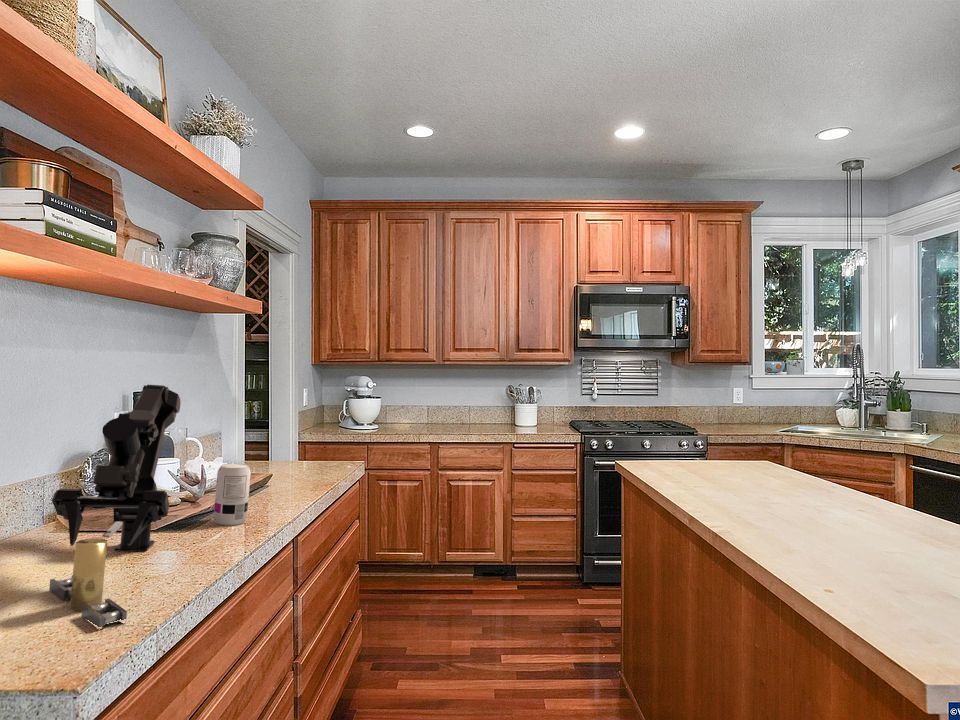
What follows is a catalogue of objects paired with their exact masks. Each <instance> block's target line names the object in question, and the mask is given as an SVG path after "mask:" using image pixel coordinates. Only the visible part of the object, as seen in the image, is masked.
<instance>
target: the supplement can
mask: <svg viewBox="0 0 960 720" xmlns="http://www.w3.org/2000/svg"><path fill="white" fill-rule="evenodd" d="M216 473H217V475H216V488H215V495H214V496H215V497H214V509H213V521H214V522H215V524H217V525H220V526H238V525H241V524H244V523H245V522H246V520H247V519H248V509H249V508H248V506H249V496H250V483H251V474H252V473H251V470H250V466H249V465H248V464H245V463H235V462H234V463H232V462H231V463H222V464H220V466H219V468H218V470H217V472H216Z"/></svg>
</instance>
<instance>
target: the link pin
mask: <svg viewBox="0 0 960 720" xmlns="http://www.w3.org/2000/svg"><path fill="white" fill-rule="evenodd" d="M74 545H75V546H74V547H75V548H74V558H73V566H72V567H73V569H72V575H73V578H72V589H71V598H70V602H69V610H70V611H72V612H76V613H77V612H81V611H82V606H83V604H88V605H89V606H93V605H97V604H101V603H103V592H104V580H105V569H106V558H107V550H108V549H107V547H108V546H107V545H108V540H107V539H106V538H99V537H93V538H85V539H81V540H78V541H77V540H76V541H75V544H74ZM81 613H82V612H81Z"/></svg>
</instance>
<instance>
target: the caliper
mask: <svg viewBox="0 0 960 720" xmlns="http://www.w3.org/2000/svg"><path fill="white" fill-rule="evenodd" d="M120 528H122V522H119V521H117V522H113V523H112V525H111V526H110V527H108V529H107V531H106V532H105V534H104V536H103V537H106V538H109V537H111V536H113V535H115V533H116V532H117V531H118V530H120Z"/></svg>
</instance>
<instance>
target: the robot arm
mask: <svg viewBox="0 0 960 720" xmlns="http://www.w3.org/2000/svg"><path fill="white" fill-rule="evenodd" d="M139 395H140V396H139V398H138V400H137V401H136V403H135V405H134V407H133V409H132V410H131V411H129V412H126V413H119V414H118V417H115V418H112V419H110V420H108V422H106V423H105V424H104V425H103V427H102V431H101V432H102V435H103V439H104V444H105V446H106V447H105V448H106V451H107V453H108V455H110V456H109V461H108V463H107V465H97V466H96V468H95V473H94V477H93V481H92V484H93V485H95V487H94V490H95V491H94V492H95V493H98V494H97V495H94V496H91V495H85V496H84V494H83V491H82V489H81V488H59V489H58V490H56V491H55V492H54V493H53V495H52V499H51V502H52V505H53V507H54V509H55V512H56V514H57V515H58V516H60V517H63V519H64V520H66V521H68V536H69V545H70V546H71V547H72V546H74V545H75V544H76V542H77V539H78V536H79V532H80V529H81V526H82V525H81V524H82V522H83V513H84V511H85V508H109V509H110V508H112V510H113V523H115V522H117V521H119V522H122V526H121V536H120V543H119V544H118V545H117V546H115V547H114V548H113V549H114V551H115V552H116V551H117V552H118V551H119V552H147V551H148V550H149V549H150V548H151V547H152V546H153V545H154V544H155V541H156V540H151V531H152V530H151V529H152V523H156V522H157V521H161V520H162V518H165V517H168V513H169V509H170V501H169V495H168V493H167V491H166V490H158V488H157V483H156V482H155V475H156V470H157V466H158V461H159V458H160V454H161V448H162V444H163V440H164V437H165V432H166V430H167V428H168V427H169V426H171V425H172V424H173V423H174V422H175V420H176V417H177V413H178V414H179V413H180V411H181V410H180V409H181V401H182V400H181V398H180V395H179V394H178V393H177V392H174V391H172V390H170V389H169V387H168V386H166V385H163V384H162V385H161V384H159V385H158V384H147V385H143V387H142V390H141V391H140V394H139Z"/></svg>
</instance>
